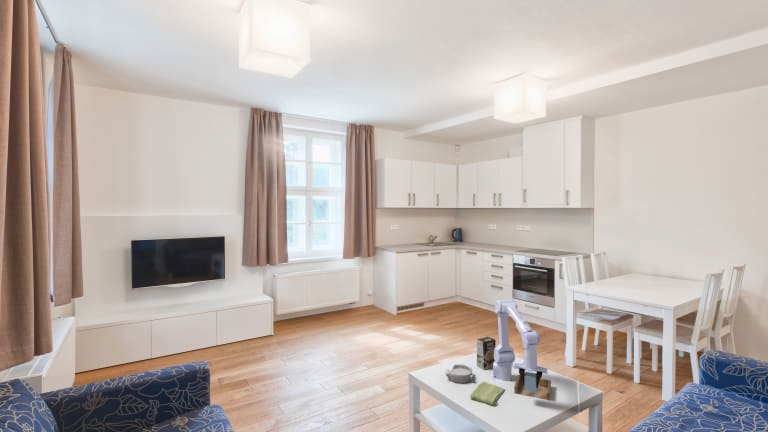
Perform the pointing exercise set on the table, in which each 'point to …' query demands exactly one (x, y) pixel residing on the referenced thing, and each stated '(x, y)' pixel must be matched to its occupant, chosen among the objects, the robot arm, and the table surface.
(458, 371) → the dish
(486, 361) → the coffee box
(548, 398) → the walnut crate
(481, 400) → the washcloth
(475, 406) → the table surface
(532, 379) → the slate block
